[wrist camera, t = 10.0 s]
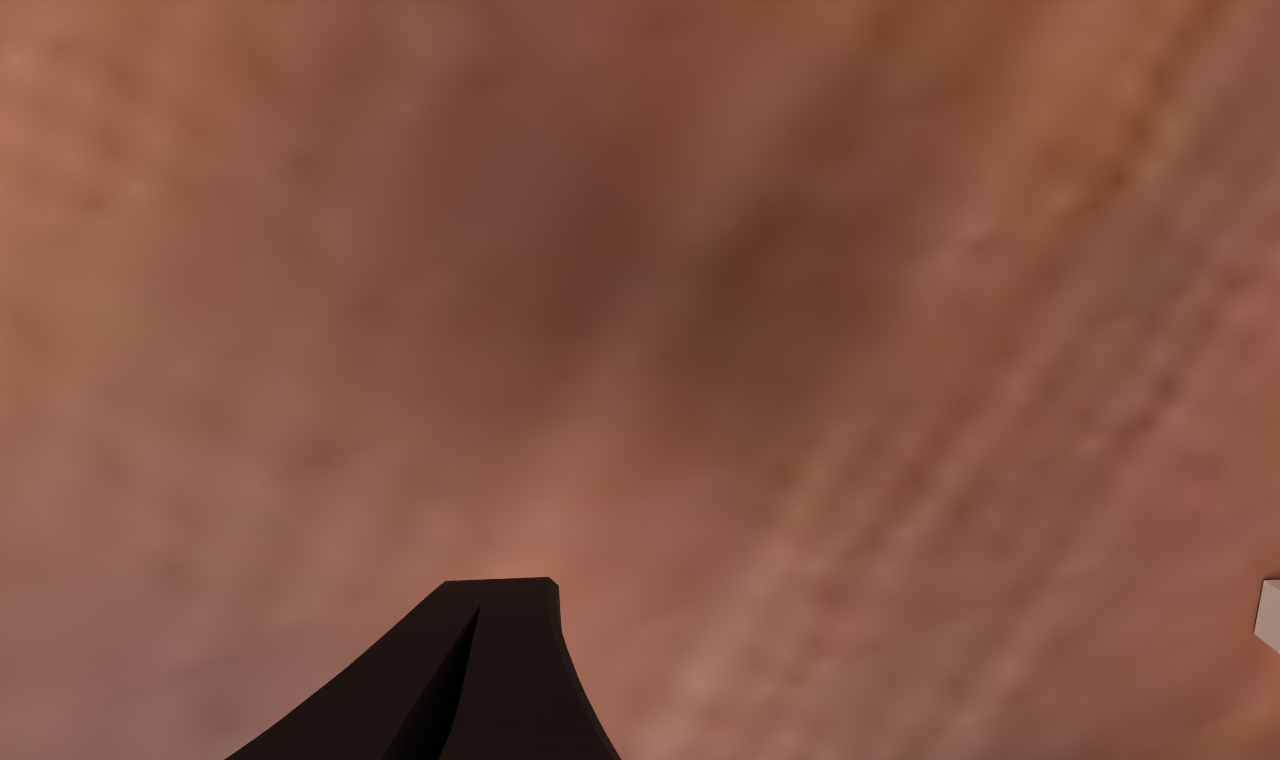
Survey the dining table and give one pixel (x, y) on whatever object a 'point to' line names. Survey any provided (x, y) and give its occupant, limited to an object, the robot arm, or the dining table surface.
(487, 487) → the dining table surface
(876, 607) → the dining table surface
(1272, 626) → the u-shaped frame
